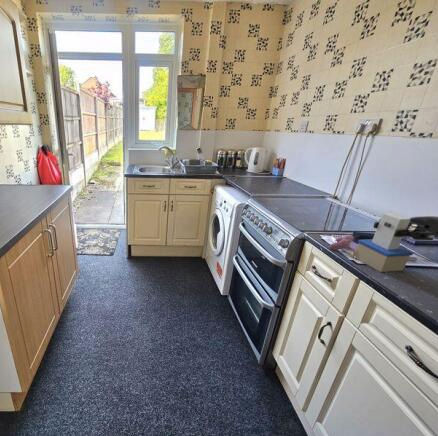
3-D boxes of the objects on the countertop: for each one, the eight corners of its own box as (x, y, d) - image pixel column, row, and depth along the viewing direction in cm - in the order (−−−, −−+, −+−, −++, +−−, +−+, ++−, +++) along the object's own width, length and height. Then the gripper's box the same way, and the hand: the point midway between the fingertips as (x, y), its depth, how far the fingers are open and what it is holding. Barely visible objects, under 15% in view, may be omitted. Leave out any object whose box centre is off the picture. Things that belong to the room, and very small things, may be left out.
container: (404, 270, 83) (413, 252, 81) (380, 272, 82) (388, 254, 79) (373, 255, 93) (380, 238, 90) (351, 256, 92) (357, 239, 89)
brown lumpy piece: (338, 255, 95) (353, 244, 90) (327, 247, 97) (341, 235, 93) (344, 248, 101) (359, 237, 97) (334, 240, 103) (348, 229, 99)
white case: (397, 249, 83) (410, 218, 79) (386, 250, 82) (399, 219, 78) (380, 241, 88) (392, 213, 84) (370, 242, 87) (381, 213, 83)
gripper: (407, 210, 90) (368, 211, 87) (459, 225, 76) (414, 227, 74) (399, 228, 92) (360, 230, 90) (447, 246, 79) (404, 249, 77)
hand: (385, 229), depth 82 cm, fingers open, 6 cm apart
